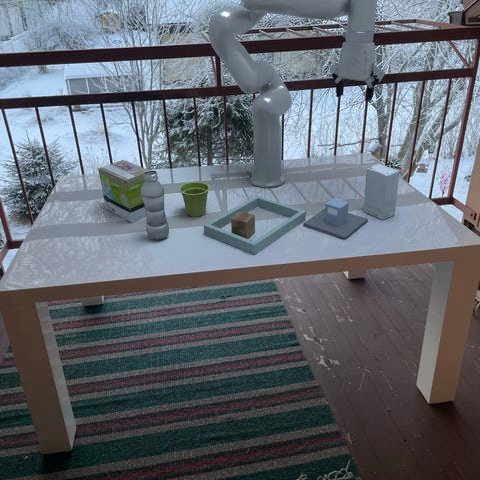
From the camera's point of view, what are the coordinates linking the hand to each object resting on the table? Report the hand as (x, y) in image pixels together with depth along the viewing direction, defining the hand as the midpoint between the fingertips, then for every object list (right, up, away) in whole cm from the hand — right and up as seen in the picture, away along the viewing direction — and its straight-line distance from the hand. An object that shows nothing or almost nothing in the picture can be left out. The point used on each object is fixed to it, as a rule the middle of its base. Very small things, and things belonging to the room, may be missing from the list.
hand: (353, 98), depth 144 cm
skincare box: (+8, -35, +4) cm, 36 cm away
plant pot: (-49, -35, +7) cm, 60 cm away
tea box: (-70, -34, +9) cm, 78 cm away
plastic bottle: (-59, -42, -6) cm, 72 cm away
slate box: (-6, -37, -2) cm, 38 cm away
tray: (-30, -39, -2) cm, 49 cm away
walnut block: (-34, -42, -6) cm, 54 cm away
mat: (-6, -38, -1) cm, 39 cm away
